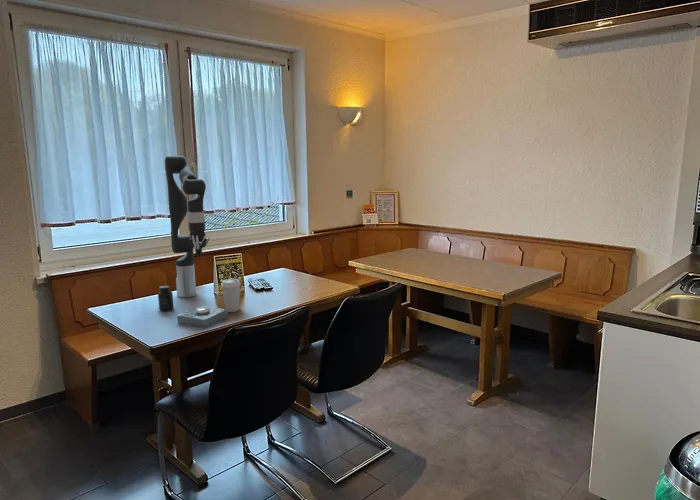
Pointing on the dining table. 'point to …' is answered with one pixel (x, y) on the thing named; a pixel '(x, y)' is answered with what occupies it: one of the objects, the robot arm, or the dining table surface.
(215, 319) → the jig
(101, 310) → the dining table surface
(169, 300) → the supplement bottle
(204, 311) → the bushing
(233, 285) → the coffee cup
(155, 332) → the dining table surface
